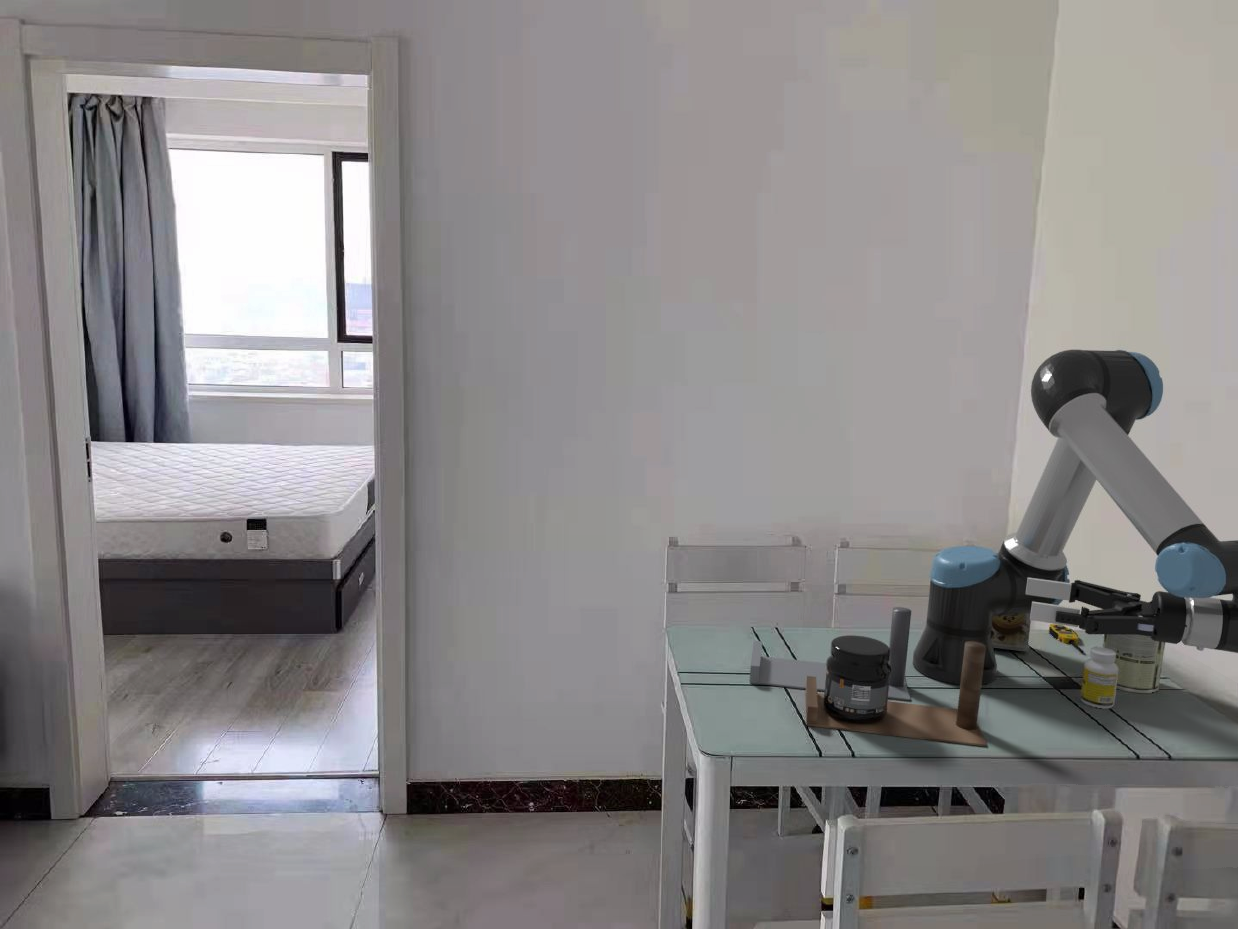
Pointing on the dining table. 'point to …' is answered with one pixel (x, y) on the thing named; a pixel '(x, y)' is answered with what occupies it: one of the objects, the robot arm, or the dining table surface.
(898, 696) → the grey l-shaped stand
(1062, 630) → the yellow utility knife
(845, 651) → the supplement container
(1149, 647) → the coffee can
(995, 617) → the cookie box
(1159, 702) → the dining table surface
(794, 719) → the dining table surface
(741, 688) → the dining table surface
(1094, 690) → the supplement bottle
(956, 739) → the wooden peg stand
